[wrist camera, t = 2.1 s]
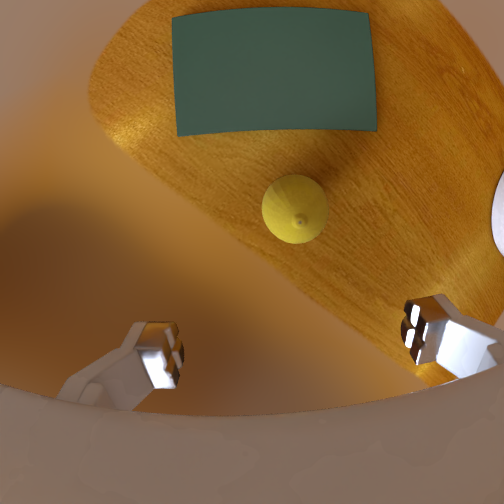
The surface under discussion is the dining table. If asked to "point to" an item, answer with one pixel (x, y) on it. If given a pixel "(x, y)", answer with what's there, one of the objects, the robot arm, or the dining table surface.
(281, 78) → the cutting board
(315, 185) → the lemon
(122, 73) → the dining table surface
